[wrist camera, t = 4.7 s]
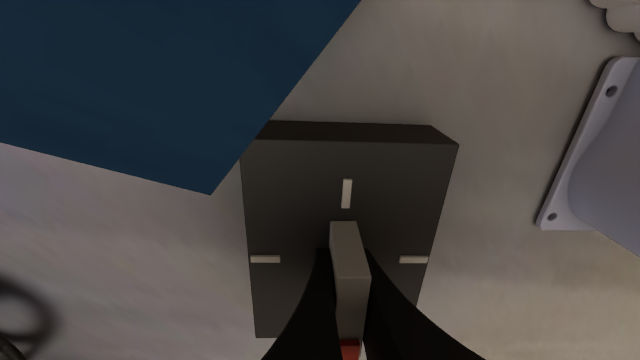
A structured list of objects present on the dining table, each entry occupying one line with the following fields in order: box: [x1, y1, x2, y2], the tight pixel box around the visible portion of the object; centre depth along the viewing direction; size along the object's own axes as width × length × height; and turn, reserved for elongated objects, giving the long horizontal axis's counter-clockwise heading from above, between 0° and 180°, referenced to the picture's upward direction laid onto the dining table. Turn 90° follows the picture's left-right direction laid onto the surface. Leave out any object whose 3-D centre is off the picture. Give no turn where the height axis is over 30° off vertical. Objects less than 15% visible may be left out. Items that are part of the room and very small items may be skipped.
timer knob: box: [329, 221, 371, 360], centre depth 12 cm, size 4×1×4 cm, turn 179°
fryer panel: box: [239, 121, 459, 338], centre depth 15 cm, size 12×9×3 cm
